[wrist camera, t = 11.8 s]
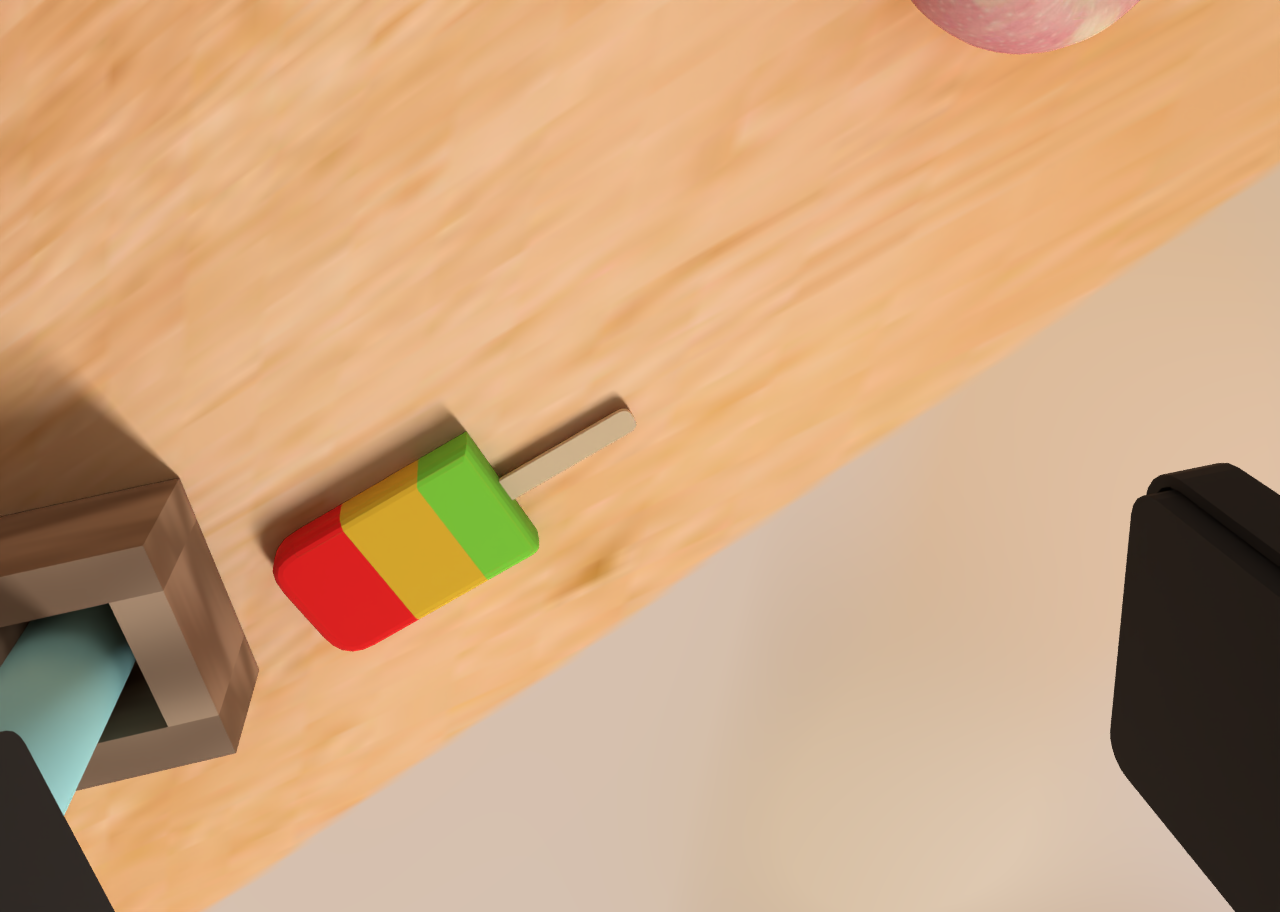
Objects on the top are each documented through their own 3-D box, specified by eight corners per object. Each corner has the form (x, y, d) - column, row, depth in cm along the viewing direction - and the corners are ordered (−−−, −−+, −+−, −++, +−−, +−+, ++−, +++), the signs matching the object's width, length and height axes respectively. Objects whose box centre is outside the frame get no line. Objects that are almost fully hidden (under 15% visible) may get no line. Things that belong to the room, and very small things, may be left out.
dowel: (33, 574, 39) (-109, 780, 30) (135, 552, 40) (27, 748, 30) (74, 655, 41) (-48, 874, 31) (171, 633, 41) (80, 844, 31)
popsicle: (263, 543, 41) (255, 569, 39) (594, 350, 40) (601, 367, 38) (348, 639, 43) (344, 667, 42) (662, 459, 42) (671, 481, 40)
